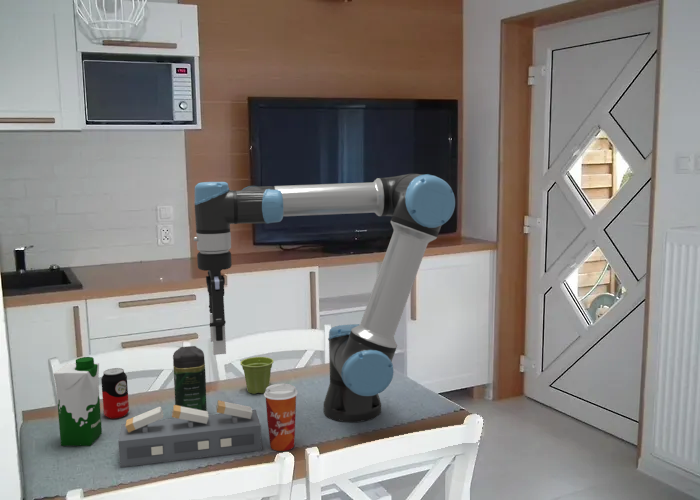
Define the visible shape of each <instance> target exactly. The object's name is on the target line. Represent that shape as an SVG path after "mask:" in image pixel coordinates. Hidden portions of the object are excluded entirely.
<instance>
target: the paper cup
mask: <svg viewBox="0 0 700 500" xmlns="http://www.w3.org/2000/svg"><path fill="white" fill-rule="evenodd" d="M298 393H299V391H298V390H297V388H296V387H295V385H293V384H289V383H275V384H271V385H270V384H269V386H268V387H267V388H266V391H265V393H263V397H264V398H265V407H266V408H265V409H266V417H267V418H266V419H267V429H268V438H269V446H270V449H271V450H273V451H276V452H285V451H290V450H292V449H293V448H294V447H295V441H296V440H295V439H296V438H295V436H296V414H297V413H296V411H297V410H296V408H297V407H296V406H297V395H298Z"/></svg>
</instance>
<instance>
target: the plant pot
mask: <svg viewBox="0 0 700 500" xmlns="http://www.w3.org/2000/svg"><path fill="white" fill-rule="evenodd" d="M274 362H275V360H274V359H273V358H271V357H267V356H255V357H253V356H252V357H248V358H244V359H243V360H241V361H240V362H239V363H240V366H241V367H242V371H243V373H244V379H245V383H246V390H247V392H248V393H250V394H253V395H255V394H264V393H265V391H266V388H267V387H268V386H270V382H271V371H272V368H273V363H274Z"/></svg>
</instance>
